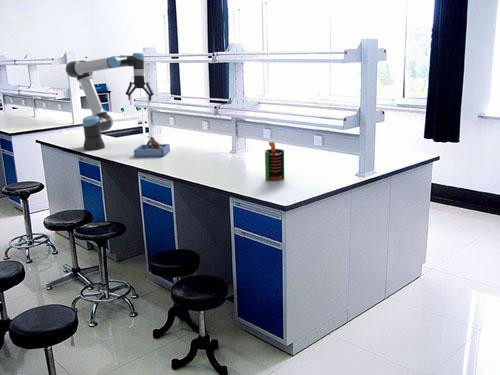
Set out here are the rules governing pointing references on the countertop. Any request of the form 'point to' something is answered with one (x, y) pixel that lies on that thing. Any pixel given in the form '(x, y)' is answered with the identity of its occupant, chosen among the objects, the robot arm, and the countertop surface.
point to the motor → (274, 163)
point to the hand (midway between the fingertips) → (140, 105)
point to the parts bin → (151, 151)
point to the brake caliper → (153, 144)
